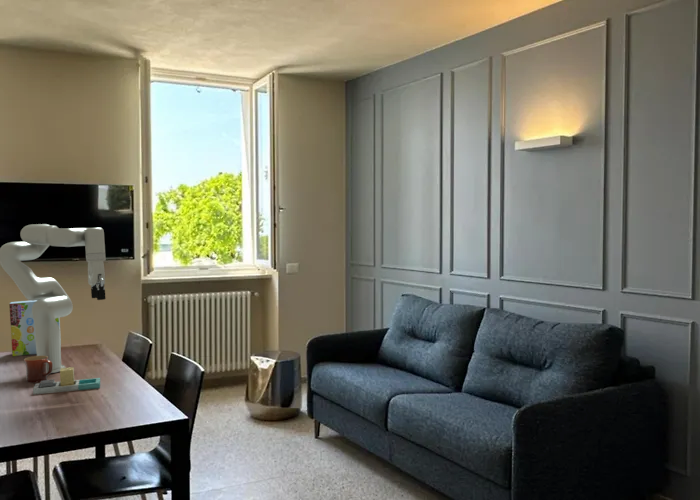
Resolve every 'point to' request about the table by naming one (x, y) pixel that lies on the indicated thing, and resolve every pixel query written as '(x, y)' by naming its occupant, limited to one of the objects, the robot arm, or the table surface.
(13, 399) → the table surface
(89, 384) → the rail
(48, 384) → the grey hollow block
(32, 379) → the mug
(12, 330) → the snack box
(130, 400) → the table surface
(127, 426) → the table surface
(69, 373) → the wooden block
